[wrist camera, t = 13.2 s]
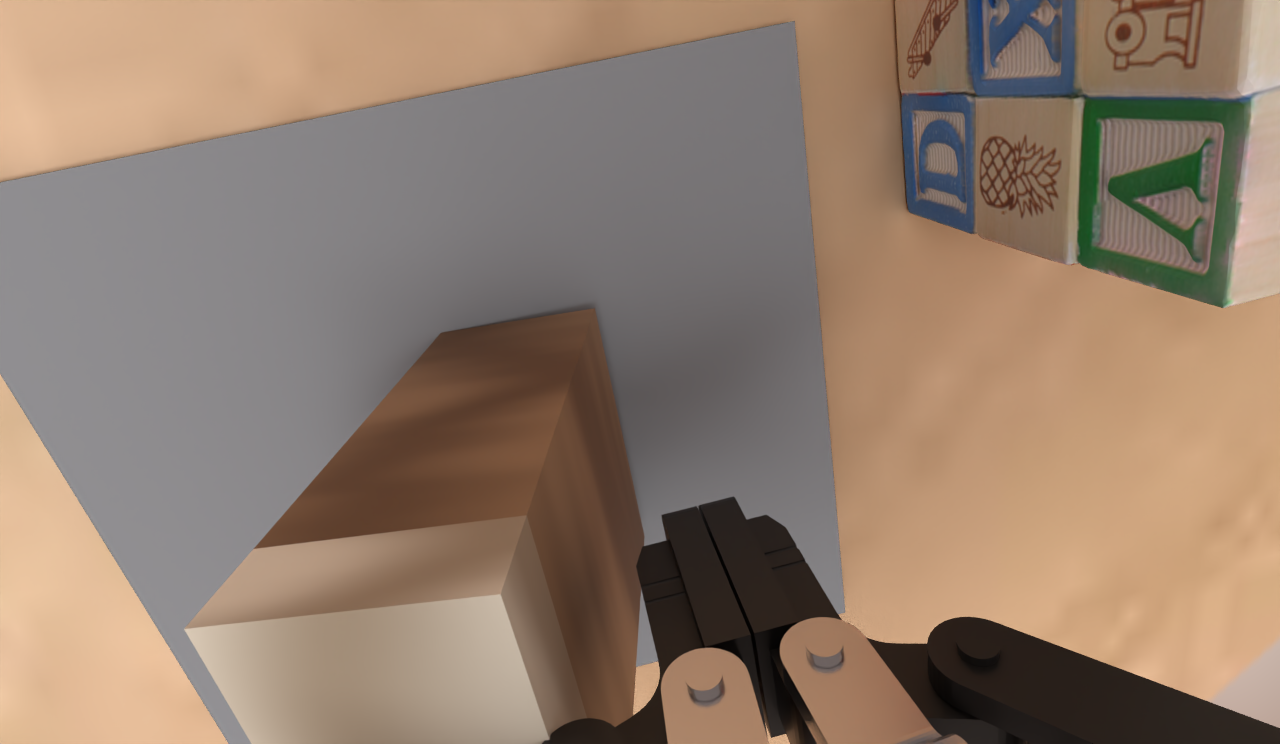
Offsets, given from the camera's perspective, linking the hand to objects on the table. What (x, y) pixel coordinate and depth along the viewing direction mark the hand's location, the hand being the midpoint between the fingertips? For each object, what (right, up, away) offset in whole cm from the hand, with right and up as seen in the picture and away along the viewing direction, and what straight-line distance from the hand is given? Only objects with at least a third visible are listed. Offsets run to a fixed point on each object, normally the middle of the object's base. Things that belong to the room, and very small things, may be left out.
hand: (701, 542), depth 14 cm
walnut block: (-4, +2, +5) cm, 6 cm away
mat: (-6, +1, +5) cm, 8 cm away
